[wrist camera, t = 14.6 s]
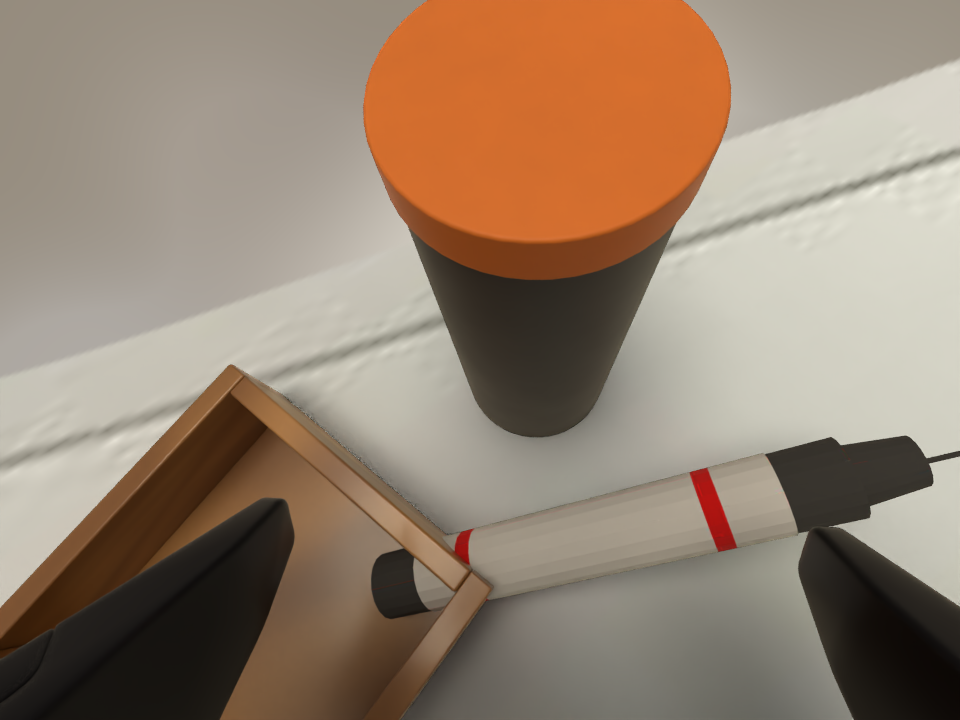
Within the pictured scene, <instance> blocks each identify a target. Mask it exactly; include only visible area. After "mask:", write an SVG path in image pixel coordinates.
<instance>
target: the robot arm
mask: <svg viewBox="0 0 960 720" xmlns="http://www.w3.org/2000/svg"><path fill="white" fill-rule="evenodd" d="M294 539H295V533H294V528H293V524H292V519H291V515H290V511H289V506H288V503H287V502H286V500H285V499H282V498H268V497H266V498H261V499H259V500H258V501H256V502H254V503H253V504H251V505H249V506H248V507H246V508H245V509H243V510H241V511H240V512H238V513H237V514H235V515H233V516H232V517H230V518H228V519H227V520H225V521H224V522H222V523H220V524H219V525H217V526H216V527H214V528H212V529H211V530H209V531H208V532H206V533H204V534H203V535H201V536H199V537H198V538H196V539H195V540H193V541H191V542H190V543H188V544H187V545H185V546H183V547H182V548H180V549H178V550H177V551H175V552H174V553H172V554H170V555H169V556H167V557H166V558H164V559H162V560H161V561H159V562H158V563H156V564H154V565H153V566H151V567H149V568H148V569H146V570H145V571H143V572H141V573H140V574H138V575H137V576H135V577H133V578H132V579H130V580H128V581H127V582H125V583H124V584H122V585H120V586H119V587H117V588H116V589H114V590H112V591H111V592H109V593H107V594H106V595H104V596H103V597H101V598H99V599H98V600H96V601H95V602H93V603H91V604H90V605H88V606H86V607H85V608H83V609H82V610H80V611H78V612H77V613H75V614H74V615H72V616H70V617H69V618H67V619H65V620H64V621H62V622H61V623H59V624H58V625H56V627H55V629H49V630H47V631H46V632H44V633H43V634H41V635H40V636H38V637H36V638H35V639H33V640H31V641H30V642H28V643H27V644H25V645H23V646H22V647H20V648H18V649H17V650H15V651H13V652H12V653H10V654H8V655H7V656H5V657H3V658H2V659H0V720H220V718H221V716H222V714H223V712H224V709H225V707H226V705H227V703H228V701H229V699H230V697H231V695H232V693H233V691H234V689H235V686H236V684H237V682H238V680H239V678H240V676H241V674H242V672H243V670H244V668H245V666H246V664H247V661H248V659H249V657H250V655H251V653H252V651H253V649H254V647H255V645H256V643H257V641H258V638H259V636H260V634H261V632H262V630H263V627H264V625H265V622H266V620H267V617H268V615H269V612H270V609H271V606H272V604H273V601H274V598H275V595H276V593H277V590H278V587H279V584H280V581H281V579H282V576H283V573H284V570H285V568H286V565H287V562H288V559H289V556H290V554H291V551H292V548H293V545H294ZM798 571H799V577H800V580H801V583H802V586H803V589H804V592H805V595H806V598H807V601H808V604H809V607H810V610H811V613H812V615H813V618H814V621H815V624H816V627H817V630H818V633H819V636H820V639H821V642H822V645H823V648H824V650H825V653H826V656H827V659H828V662H829V664H830V667H831V670H832V672H833V675H834V677H835V679H836V682H837V684H838V686H839V688H840V691H841V693H842V695H843V697H844V699H845V702H846V704H847V706H848V708H849V710H850V712H851V715H852V717H853V719H854V720H960V606H958V605H956V604H955V603H953V602H952V601H950V600H949V599H947V598H946V597H944V596H943V595H941V594H940V593H938V592H937V591H935V590H934V589H932V588H931V587H929V586H928V585H926V584H925V583H923V582H922V581H920V580H919V579H917V578H916V577H914V576H913V575H911V574H910V573H908V572H907V571H905V570H904V569H902V568H901V567H899V566H898V565H896V564H894V563H893V562H891V561H890V560H888V559H887V558H885V557H884V556H882V555H881V554H879V553H878V552H876V551H875V550H873V549H872V548H870V547H869V546H867V545H866V544H864V543H863V542H861V541H860V540H858V539H857V538H855V537H854V536H852V535H851V534H849V533H848V532H846V531H844V530H843V529H840V528H836V527H819V526H817V527H813V528H811V529H810V530H809V532H808V535H807V538H806V541H805V544H804V548H803V551H802V554H801V557H800V560H799V566H798Z"/></svg>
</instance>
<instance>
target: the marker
mask: <svg viewBox="0 0 960 720" xmlns="http://www.w3.org/2000/svg"><path fill="white" fill-rule="evenodd" d="M959 456H960V451H957V452H952V453H948V454H944V455H940V456H935V457H931V458H927V459H926V457H925V456H924V454H923V452H922V451H921V449H920V448H919V447H918V445H917V444H916V443H915V442H914V441H913V440H912V439H911V438H910V437H908V436H900V437H893V438H887V439H880V440H874V441H867V442H860V443H854V444H847V445H840V444H839V443H838V442H837V441H836V440H835V439H833V438H832V437H830V438H826V439H822V440H818V441H815V442H811V443H807V444H803V445H799V446H795V447H791V448H788V449H784V450H780V451H776V452H772V453H768V454H764V453H761V454H758V455H754V456H750V457H746V458H742V459H738V460H735V461H731V462H727V463H723V464H719V465H715V466H712V467H708V468H704V469H700V470H696V471H692V472H689V473H685V474H681V475H677V476H673V477H670V478H666V479H662V480H658V481H654V482H650V483H647V484H643V485H639V486H635V487H631V488H627V489H624V490H620V491H616V492H612V493H608V494H604V495H601V496H597V497H593V498H589V499H585V500H581V501H578V502H574V503H570V504H566V505H562V506H559V507H555V508H551V509H547V510H543V511H539V512H536V513H532V514H528V515H524V516H520V517H516V518H513V519H509V520H505V521H501V522H497V523H493V524H490V525H486V526H482V527H478V528H474V529H470V530H467V531H463V532H459V533H455V534H451V535H447V536H444V537H443V539H444V541H445V542H446V543H447V544H448V545H449V546H450V547H451V548H452V549H453V550H454V551H455V552H456V553H457V554H458V555H459V556H460V557H461V558H462V559H463V560H464V561H465V562H467V563H468V564H469V565H470V566H471V567H472V569H473V571H474V570H475V571H477V572H478V573H479V574H480V575H481V576H482V577H483V578H485V579H486V580H487V581H488V582H490V583H491V584H492V585H493V586H494V589H493V590H492V591H491V593H490V594H489V596H488V597H487V599H486V600H485V601H488V600H493V599H497V598H502V597H507V596H512V595H516V594H521V593H526V592H531V591H535V590H540V589H545V588H550V587H554V586H559V585H564V584H569V583H573V582H578V581H583V580H587V579H592V578H597V577H602V576H606V575H611V574H616V573H621V572H625V571H630V570H635V569H640V568H644V567H649V566H654V565H659V564H663V563H668V562H673V561H678V560H682V559H687V558H692V557H697V556H701V555H706V554H711V553H716V552H720V551H725V550H730V549H735V548H739V547H744V546H749V545H754V544H758V543H763V542H768V541H773V540H777V539H782V538H787V537H791V536H796V535H798V533H801V532H806V531H809V530H810V529H811V528H813V527H817V526H819V527H829V526H834V525H839V524H843V523H848V522H853V521H858V520H862V519H867V518H870V514H871V511H870V506H872V505H875V504H878V503H881V502H884V501H887V500H890V499H893V498H896V497H899V496H902V495H905V494H908V493H911V492H914V491H917V490H920V489H923V488H926V487H929V486H932V484H933V474H932V471H931V468H930V465H929V463H933V462H937V461H942V460H946V459H950V458H955V457H959ZM371 591H372V595H373V599H374V602H375V604H376V606H377V608H378V611H379V612H380V613H381V614H382V615H383V616H384V617H385V618H389V619H395V618H400V617H405V616H409V615H414V614H419V613H423V612H428V611H434V612H436V611H440V610H443V609H444V608H445V606H446V605H447V604H448V602H449V601H450V600H451V598H452V597H453V595H454V594H455V593H456V592H454V591H452V590H451V589H450V588H448V587H447V586H446V585H445V584H444V583H443V582H442V581H441V580H439V579H438V578H437V577H436V576H435V575H434V574H433V573H432V572H430V571H429V570H428V569H427V568H426V567H425V566H424V565H423V564H421V563H420V562H419V561H418V560H417V559H416V558H415V557H413V556H412V555H411V554H410V553H409V552H408V551H407V550H406V549H404V548H403V549H399V550H396V551H392V552H388V553H384V554H381V555H380V556H379V557H378V558H377V559H376V561H375V563H374V565H373V568H372V574H371Z"/></svg>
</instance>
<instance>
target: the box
mask: <svg viewBox="0 0 960 720" xmlns="http://www.w3.org/2000/svg"><path fill="white" fill-rule="evenodd" d="M266 497H268V498H282V499H285V500H286V502H287V503H288V506H289V511H290V515H291V519H292V524H293V528H294V533H295V539H294V545H293V548H292V551H291V554H290V556H289V559H288V562H287V565H286V568H285V570H284V573H283V576H282V579H281V581H280V584H279V587H278V590H277V593H276V595H275V598H274V601H273V604H272V606H271V609H270V612H269V615H268V617H267V620H266V622H265V625H264V627H263V630H262V632H261V634H260V636H259V638H258V641H257V643H256V645H255V647H254V649H253V651H252V653H251V655H250V657H249V659H248V661H247V664H246V666H245V668H244V670H243V672H242V674H241V676H240V678H239V680H238V682H237V684H236V686H235V689H234V691H233V693H232V695H231V697H230V699H229V701H228V703H227V705H226V707H225V709H224V712H223V714H222V716H221V718H220V720H401V719H402V717H403V716H404V715H405V713H406V712H407V710H408V709H409V708H410V706H411V705H412V703H413V702H414V701H415V699H416V698H417V696H418V695H419V694H420V692H421V691H422V689H423V688H424V687H425V685H426V684H427V682H428V681H429V680H430V678H431V677H432V675H433V674H434V673H435V671H436V670H437V668H438V667H439V666H440V664H441V663H442V661H443V660H444V659H445V657H446V656H447V654H448V653H449V652H450V650H451V649H452V648H453V646H454V645H455V643H456V642H457V641H458V639H459V638H460V636H461V635H462V634H463V632H464V631H465V629H466V628H467V627H468V625H469V624H470V622H471V621H472V620H473V618H474V617H475V615H476V614H477V613H478V611H479V610H480V608H481V607H482V606H483V604H484V603H485V600H486V599H487V597H488V596H489V594H490V593H491V591H492V590H493V589H494V586H493V585H492V584H491V583H490V582H488V581H487V580H486V579H485V578H483V577H482V576H481V575H480V574H479V573H478V572H477V571H475V570H474V571H473V569H472V567H471V566H470V565H469V564H468V563H467V562H465V561H464V560H463V559H462V558H461V557H460V556H459V555H458V554H457V553H456V552H455V551H454V550H453V549H452V548H451V547H450V546H449V545H448V544H447V543H446V542H445V541H444V539H443V537H444V536H447V535H446V534H445V533H444V532H443V531H441V530H440V529H439V528H438V527H437V526H436V525H434V524H433V523H432V522H431V521H430V520H429V519H427V518H426V517H425V516H424V515H423V514H422V513H420V512H419V511H418V510H417V509H416V508H414V507H413V506H412V505H411V504H410V503H409V502H407V501H406V500H405V499H404V498H403V497H402V496H400V495H399V494H398V493H397V492H396V491H395V490H393V489H392V488H391V487H390V486H389V485H387V484H386V483H385V482H384V481H383V480H382V479H380V478H379V477H378V476H377V475H376V474H375V473H373V472H372V471H371V470H370V469H369V468H368V467H366V466H365V465H364V464H363V463H362V462H360V461H359V460H358V459H357V458H356V457H355V456H353V455H352V454H351V453H350V452H349V451H348V450H346V449H345V448H344V447H343V446H342V445H341V444H339V443H338V442H337V441H336V440H335V439H333V438H332V437H331V436H330V435H329V434H328V433H326V432H325V431H324V430H323V429H322V428H321V427H319V426H318V425H317V424H316V423H315V422H313V421H312V420H311V419H310V418H309V417H308V416H306V415H305V414H304V413H303V412H302V411H301V410H299V409H298V408H297V407H296V406H295V405H293V404H292V403H291V402H290V401H289V400H288V399H286V398H285V397H284V396H283V395H282V394H280V393H279V392H277V391H275V390H274V389H272V388H270V387H269V386H267V385H265V384H264V383H262V382H260V381H259V380H257V379H256V378H254V377H252V376H251V375H249V374H247V373H246V372H244V371H242V370H241V369H239V368H237V367H236V366H234V365H231V364H230V365H229V366H228V367H227V368H226V369H225V370H224V371H223V372H222V373H221V374H220V375H219V376H218V377H217V378H216V379H215V381H214V382H213V383H212V384H211V385H210V386H209V387H208V388H207V389H206V390H205V391H204V392H203V393H202V394H201V395H200V396H199V398H198V399H197V400H196V401H195V402H194V403H193V404H192V405H191V406H190V407H189V408H188V409H187V410H186V411H185V412H184V413H183V415H182V416H181V417H180V418H179V419H178V420H177V421H176V422H175V423H174V424H173V425H172V426H171V427H170V428H169V429H168V430H167V431H166V433H165V434H164V435H163V436H162V437H161V438H160V439H159V440H158V441H157V442H156V443H155V444H154V445H153V446H152V447H151V448H150V450H149V451H148V452H147V453H146V454H145V455H144V456H143V457H142V458H141V459H140V460H139V461H138V462H137V463H136V464H135V465H134V466H133V468H132V469H131V470H130V471H129V472H128V473H127V474H126V475H125V476H124V477H123V478H122V479H121V480H120V481H119V482H118V483H117V485H116V486H115V487H114V488H113V489H112V490H111V491H110V492H109V493H108V494H107V495H106V496H105V497H104V498H103V499H102V500H101V502H100V503H99V504H98V505H97V506H96V507H95V508H94V509H93V510H92V511H91V512H90V513H89V514H88V515H87V516H86V517H85V518H84V520H83V521H82V522H81V523H80V524H79V525H78V526H77V527H76V528H75V529H74V530H73V531H72V532H71V533H70V534H69V535H68V537H67V538H66V539H65V540H64V541H63V542H62V543H61V544H60V545H59V546H58V547H57V548H56V549H55V550H54V551H53V552H52V553H51V555H50V556H49V557H48V558H47V559H46V560H45V561H44V562H43V563H42V564H41V565H40V566H39V567H38V568H37V569H36V570H35V572H34V573H33V574H32V575H31V576H30V577H29V578H28V579H27V580H26V581H25V582H24V583H23V584H22V585H21V586H20V587H19V589H18V590H17V591H16V592H15V593H14V594H13V595H12V596H11V597H10V598H9V599H8V600H7V601H6V602H5V603H4V604H3V605H2V607H1V608H0V659H2V658H3V657H5V656H7V655H8V654H10V653H12V652H13V651H15V650H17V649H18V648H20V647H22V646H23V645H25V644H27V643H28V642H30V641H31V640H33V639H35V638H36V637H38V636H40V635H41V634H43V633H44V632H46V631H47V630H49V629H55V627H56V625H58V624H59V623H61V622H62V621H64V620H65V619H67V618H69V617H70V616H72V615H74V614H75V613H77V612H78V611H80V610H82V609H83V608H85V607H86V606H88V605H90V604H91V603H93V602H95V601H96V600H98V599H99V598H101V597H103V596H104V595H106V594H107V593H109V592H111V591H112V590H114V589H116V588H117V587H119V586H120V585H122V584H124V583H125V582H127V581H128V580H130V579H132V578H133V577H135V576H137V575H138V574H140V573H141V572H143V571H145V570H146V569H148V568H149V567H151V566H153V565H154V564H156V563H158V562H159V561H161V560H162V559H164V558H166V557H167V556H169V555H170V554H172V553H174V552H175V551H177V550H178V549H180V548H182V547H183V546H185V545H187V544H188V543H190V542H191V541H193V540H195V539H196V538H198V537H199V536H201V535H203V534H204V533H206V532H208V531H209V530H211V529H212V528H214V527H216V526H217V525H219V524H220V523H222V522H224V521H225V520H227V519H228V518H230V517H232V516H233V515H235V514H237V513H238V512H240V511H241V510H243V509H245V508H246V507H248V506H249V505H251V504H253V503H254V502H256V501H258V500H259V499H261V498H266ZM403 548H404V549H406V550H407V551H408V552H409V553H410V554H411V555H412V556H413V557H415V558H416V559H417V560H418V561H419V562H420V563H421V564H423V565H424V566H425V567H426V568H427V569H428V570H429V571H430V572H432V573H433V574H434V575H435V576H436V577H437V578H438V579H439V580H441V581H442V582H443V583H444V584H445V585H446V586H447V587H448V588H450V589H451V590H452V591H454V592H456V593H455V594H454V595H453V597H452V598H451V600H450V601H449V602H448V604H447V605H446V606H445V608H444V609H443V610H440V611H436V612H434V611H428V612H423V613H419V614H414V615H409V616H405V617H400V618H395V619H389V618H385V617H384V616H383V615H382V614H381V613H380V612H379V611H378V608H377V606H376V604H375V602H374V599H373V595H372V591H371V574H372V568H373V565H374V563H375V561H376V559H377V558H378V557H379V556H380V555H381V554H384V553H388V552H392V551H396V550H399V549H403Z"/></svg>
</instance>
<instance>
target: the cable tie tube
mask: <svg viewBox="0 0 960 720" xmlns="http://www.w3.org/2000/svg"><path fill="white" fill-rule="evenodd" d="M363 106H364V107H363V110H364V127H365V132H366V137H367V142H368V145H369V147H370V150H371V153H372V156H373V158H374V161H375V163H376V166H377V168H378V171H379V173H380V175H381V178H382V180H383V182H384V185H385V188H386V190H387V192H388V195H389V197H390V200H391V201H392V203H393V205H394V207H395V208H396V210H397V212H398V214H399V215H400V217H401V218H402V219H403V220H404V222H405V223H406V224H407V225H408V228H409V231H410V233H411V236H412V238H413V241H414V243H415V246H416V249H417V251H418V254H419V256H420V259H421V261H422V264H423V267H424V269H425V272H426V274H427V277H428V279H429V282H430V285H431V287H432V290H433V292H434V295H435V297H436V300H437V303H438V305H439V308H440V310H441V313H442V315H443V318H444V321H445V323H446V326H447V328H448V331H449V333H450V336H451V339H452V341H453V344H454V346H455V349H456V351H457V354H458V357H459V359H460V362H461V364H462V367H463V369H464V372H465V375H466V377H467V380H468V382H469V385H470V387H471V390H472V393H473V395H474V398H475V400H476V402H477V404H478V405H479V407H480V408H481V410H482V411H483V412H484V414H485V415H486V416H487V417H488V418H489V419H490V420H491V421H493V422H494V423H495V424H496V425H498V426H500V427H501V428H503V429H505V430H507V431H509V432H512V433H515V434H518V435H522V436H528V437H544V436H551V435H555V434H559V433H561V432H564V431H566V430H568V429H570V428H572V427H573V426H575V425H576V424H578V423H579V422H580V421H581V420H583V419H584V418H585V417H586V416H587V415H588V413H589V412H590V411H591V409H592V408H593V406H594V405H595V403H596V401H597V399H598V397H599V395H600V392H601V390H602V388H603V386H604V383H605V381H606V379H607V377H608V375H609V372H610V370H611V368H612V366H613V363H614V361H615V359H616V357H617V354H618V352H619V350H620V348H621V345H622V343H623V341H624V339H625V336H626V334H627V332H628V330H629V327H630V325H631V323H632V321H633V319H634V316H635V314H636V312H637V310H638V307H639V305H640V303H641V301H642V298H643V296H644V294H645V292H646V289H647V287H648V285H649V283H650V280H651V278H652V276H653V274H654V271H655V269H656V267H657V265H658V263H659V260H660V258H661V256H662V254H663V251H664V249H665V247H666V245H667V242H668V240H669V238H670V236H671V233H672V231H673V229H674V227H675V224H676V223H677V221H678V220H679V219H680V218H681V216H682V215H683V214H684V213H685V211H686V210H687V209H688V208H689V206H690V204H691V203H692V201H693V199H694V197H695V196H696V194H697V192H698V191H699V188H700V186H701V184H702V182H703V180H704V178H705V176H706V174H707V171H708V169H709V167H710V165H711V163H712V161H713V159H714V156H715V154H716V152H717V150H718V148H719V146H720V143H721V141H722V138H723V135H724V133H725V130H726V128H727V123H728V118H729V113H730V107H731V84H730V78H729V72H728V67H727V63H726V60H725V58H724V55H723V52H722V49H721V47H720V45H719V44H718V42H717V40H716V38H715V36H714V34H713V32H712V31H711V30H710V29H709V27H708V26H707V25H706V23H705V22H704V21H703V19H702V18H701V17H700V16H699V15H698V14H697V13H696V12H695V11H694V10H693V9H692V8H691V7H690V6H689V5H688V4H686V3H685V2H684V1H682V0H427V1H426V2H425V3H423V4H422V5H421V6H419V7H418V8H417V9H415V10H414V11H413V12H412V13H411V14H410V15H409V16H408V17H407V18H406V19H405V20H404V21H402V22H401V24H400V25H399V26H398V27H397V28H396V29H395V31H394V32H393V33H392V34H391V35H390V36H389V38H388V39H387V41H386V43H385V44H384V46H383V47H382V49H381V50H380V52H379V54H378V56H377V58H376V60H375V62H374V64H373V66H372V68H371V72H370V75H369V78H368V81H367V85H366V91H365V98H364V105H363Z"/></svg>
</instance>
